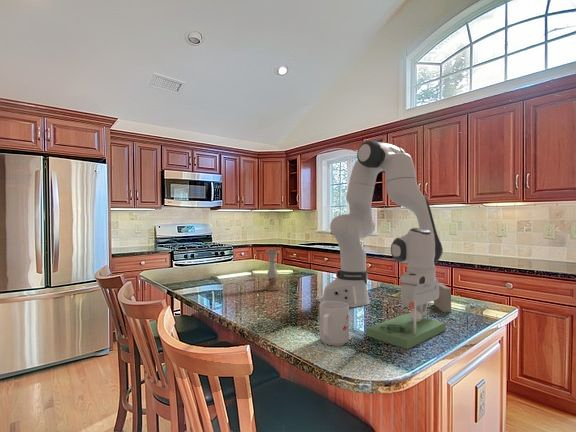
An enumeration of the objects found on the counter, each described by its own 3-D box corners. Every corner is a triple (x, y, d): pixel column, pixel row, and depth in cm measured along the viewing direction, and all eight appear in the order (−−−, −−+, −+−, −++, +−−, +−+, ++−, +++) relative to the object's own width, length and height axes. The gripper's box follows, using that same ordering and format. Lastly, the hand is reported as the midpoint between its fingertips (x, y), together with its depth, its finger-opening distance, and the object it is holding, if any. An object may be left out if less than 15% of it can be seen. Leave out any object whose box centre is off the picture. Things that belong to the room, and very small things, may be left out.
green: (406, 320, 120) (406, 286, 120) (445, 330, 109) (445, 292, 109) (366, 335, 104) (366, 296, 104) (407, 349, 93) (407, 305, 93)
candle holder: (262, 291, 168) (262, 251, 168) (266, 287, 177) (266, 249, 177) (279, 291, 167) (279, 251, 167) (282, 287, 176) (282, 250, 176)
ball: (412, 325, 110) (408, 319, 108) (410, 316, 113) (406, 309, 111) (424, 323, 108) (421, 316, 107) (422, 313, 112) (418, 306, 110)
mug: (325, 334, 106) (325, 299, 106) (352, 339, 101) (352, 303, 101) (310, 347, 95) (310, 308, 95) (339, 353, 91) (339, 313, 91)
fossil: (452, 312, 129) (452, 288, 130) (442, 312, 130) (442, 288, 130) (441, 304, 141) (441, 282, 141) (433, 304, 142) (433, 282, 142)
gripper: (426, 271, 122) (426, 308, 122) (397, 278, 108) (397, 320, 108) (443, 273, 117) (444, 312, 117) (415, 280, 103) (415, 324, 103)
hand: (421, 316), depth 112 cm, fingers closed
